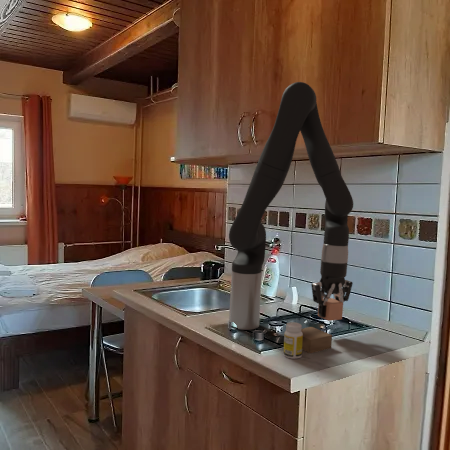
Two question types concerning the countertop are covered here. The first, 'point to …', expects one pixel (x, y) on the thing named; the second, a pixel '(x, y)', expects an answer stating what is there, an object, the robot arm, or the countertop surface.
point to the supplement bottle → (293, 340)
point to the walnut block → (315, 340)
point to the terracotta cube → (333, 310)
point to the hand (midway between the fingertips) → (329, 315)
